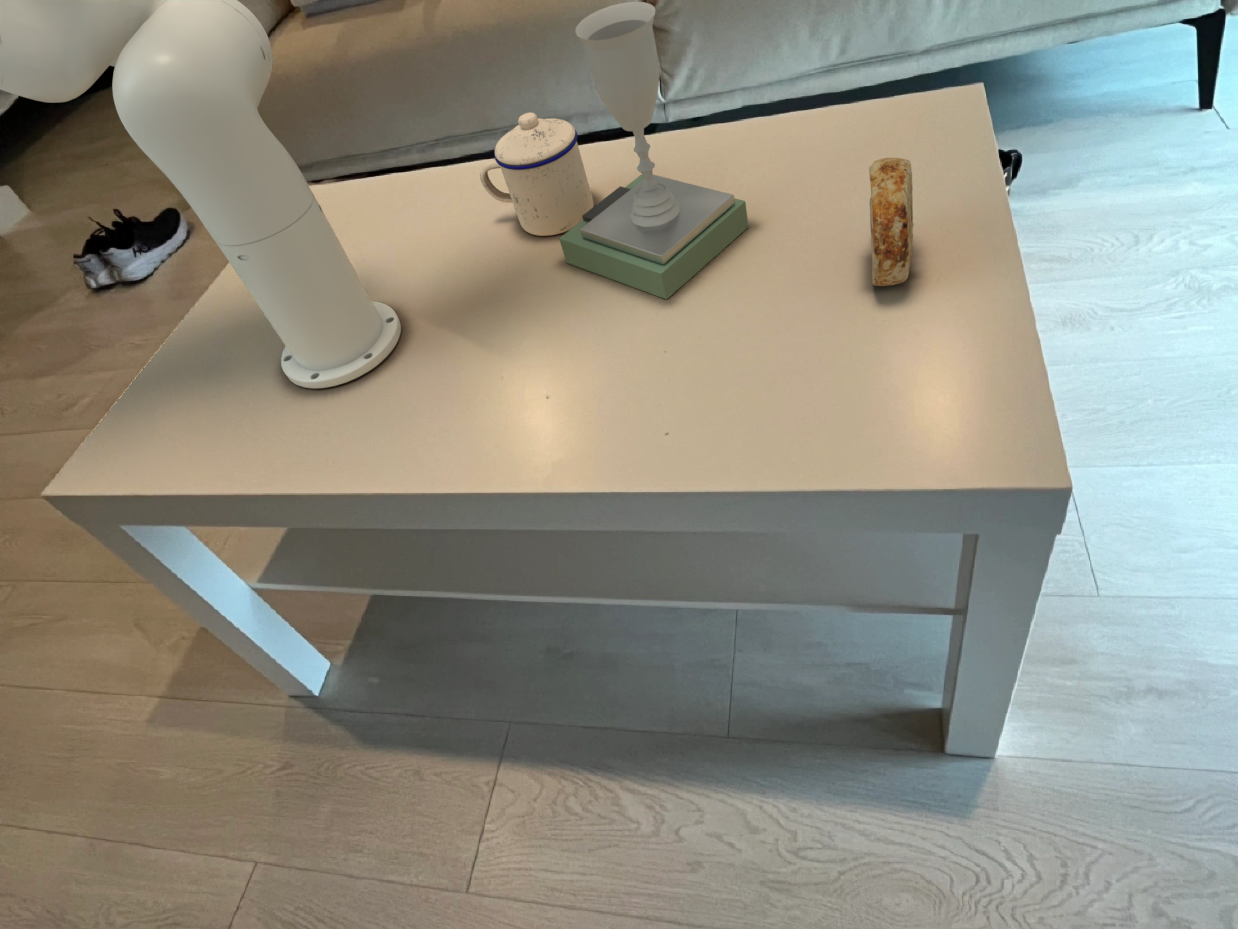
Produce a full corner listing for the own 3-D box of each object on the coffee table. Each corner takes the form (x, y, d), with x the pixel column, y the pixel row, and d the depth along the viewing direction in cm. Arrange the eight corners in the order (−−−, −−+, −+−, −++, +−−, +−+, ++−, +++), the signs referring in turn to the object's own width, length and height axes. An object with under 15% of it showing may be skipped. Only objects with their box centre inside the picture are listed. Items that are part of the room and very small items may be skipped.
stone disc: (912, 306, 69) (917, 201, 62) (866, 307, 70) (866, 205, 63) (911, 235, 76) (916, 133, 69) (869, 237, 77) (870, 137, 70)
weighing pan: (581, 237, 82) (579, 229, 82) (652, 181, 86) (650, 173, 86) (663, 265, 76) (661, 256, 75) (735, 203, 80) (734, 194, 79)
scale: (566, 262, 86) (557, 233, 83) (646, 198, 91) (640, 168, 88) (666, 299, 78) (659, 268, 75) (748, 227, 83) (745, 195, 80)
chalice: (683, 230, 77) (647, 32, 64) (615, 235, 79) (566, 45, 66) (694, 188, 82) (662, -4, 69) (629, 194, 84) (586, 8, 71)
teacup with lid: (603, 189, 94) (577, 89, 86) (587, 234, 88) (557, 132, 80) (507, 199, 97) (474, 104, 89) (486, 244, 92) (447, 146, 83)
